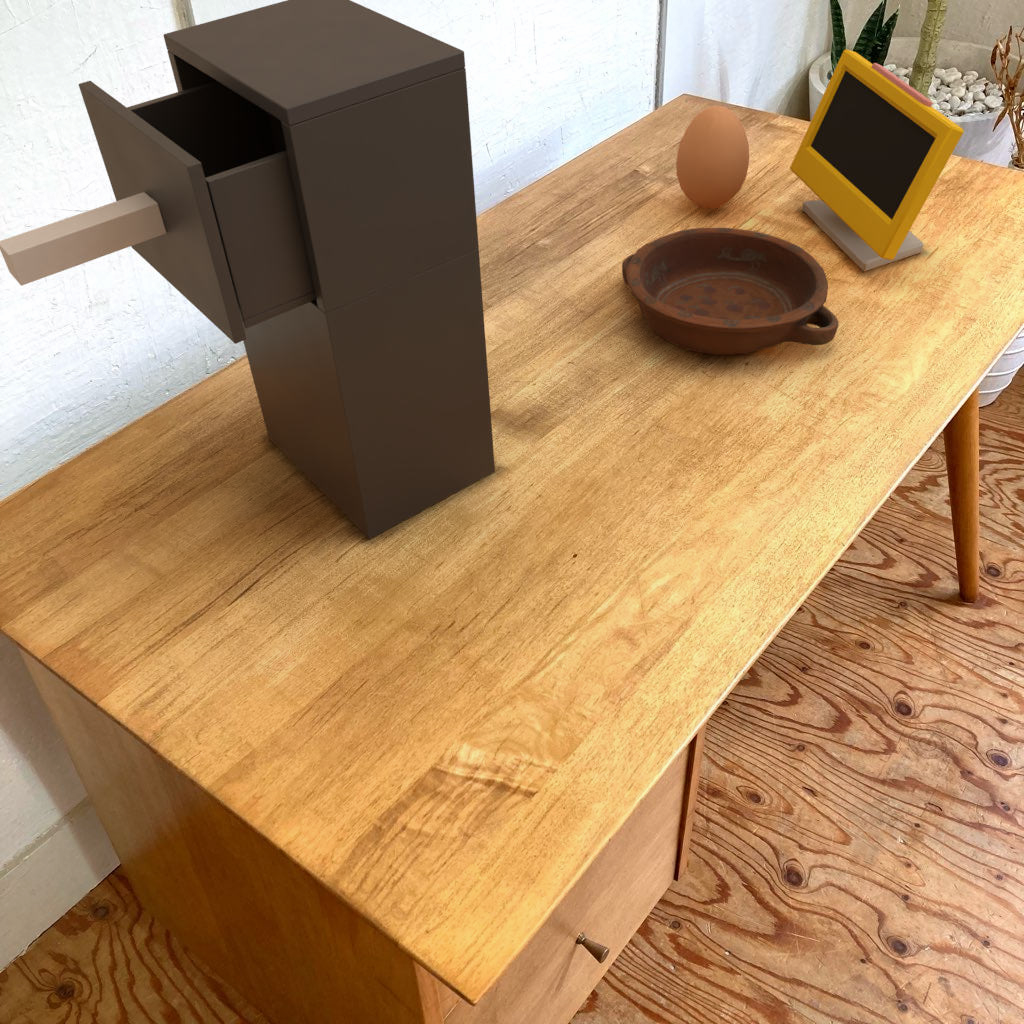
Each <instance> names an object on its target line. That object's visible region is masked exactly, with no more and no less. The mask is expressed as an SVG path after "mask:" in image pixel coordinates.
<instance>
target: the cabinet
mask: <svg viewBox="0 0 1024 1024" xmlns="http://www.w3.org/2000/svg"><path fill="white" fill-rule="evenodd" d="M163 39H164V43H165V47H166V51H167V55H168V59H169V62H170V66H171V70H172V74H173V78H174V82H175V84H176V89H177V92H180V91H183V90H186V89H190V88H193V87H196V86H199V85H203V84H206V83H209V82H213V81H216V80H217V81H218V82H220V83H221V84H223V85H225V86H226V87H228V88H229V89H231V90H233V91H234V92H236V93H237V94H239V95H241V96H242V97H244V98H245V99H247V100H249V101H250V102H252V103H253V104H255V105H257V106H258V107H260V108H261V109H263V110H265V111H266V112H268V113H270V114H271V115H273V116H274V117H276V118H278V119H279V120H281V121H282V122H281V124H282V129H283V134H284V139H285V144H286V149H287V154H288V159H289V164H290V169H291V174H292V179H293V184H294V189H295V194H296V199H297V204H298V209H299V214H300V219H301V224H302V229H303V234H304V239H305V244H306V250H307V255H308V260H309V265H310V270H311V275H312V280H313V285H314V290H315V295H316V300H313V301H311V302H309V303H306V304H304V305H301V306H299V307H297V308H294V309H292V310H289V311H287V312H285V313H282V314H280V315H278V316H275V317H273V318H270V319H268V320H266V321H263V322H261V323H258V324H256V325H254V326H251V327H249V328H244V331H245V334H246V338H247V339H246V340H243V341H242V342H243V346H244V350H245V353H246V357H247V360H248V361H247V362H248V364H249V368H250V372H251V376H252V380H253V384H254V387H255V391H256V395H257V399H258V403H259V407H260V412H261V414H262V417H263V422H264V427H265V429H266V434H267V437H268V440H270V441H271V442H272V443H273V444H274V445H275V446H276V448H278V449H279V450H280V451H281V452H282V453H283V454H284V455H285V456H286V457H287V458H288V459H289V461H291V462H292V464H294V465H295V467H297V468H298V470H299V471H301V473H302V474H304V476H305V477H306V478H307V479H308V480H309V481H310V482H312V484H314V485H315V487H316V488H318V490H320V492H322V494H323V495H324V496H325V497H326V498H327V499H328V500H330V502H331V503H333V505H334V506H336V508H337V509H338V510H339V511H340V512H341V513H342V514H343V515H344V516H345V517H346V518H347V519H348V520H349V521H350V522H351V523H352V524H353V525H354V526H355V527H356V528H357V529H358V530H359V531H360V532H361V533H362V534H363V535H364V536H365V537H366V538H367V539H368V540H372V539H373V538H375V537H377V536H379V535H380V534H383V533H384V532H386V531H388V530H390V529H392V528H394V527H396V526H397V525H399V524H401V523H402V522H404V521H406V520H408V519H410V518H412V517H415V515H417V514H419V513H421V512H423V511H425V510H427V509H429V508H431V507H433V506H434V505H435V504H438V503H439V502H442V501H443V500H445V499H447V498H448V497H449V498H450V497H451V496H453V495H454V494H457V493H458V492H460V491H461V490H464V489H465V488H467V487H469V486H471V485H473V484H475V483H476V482H478V481H480V480H482V479H484V478H485V477H488V476H489V475H491V474H493V473H495V472H496V466H495V465H496V464H495V454H494V453H495V452H494V437H493V426H492V411H491V398H490V396H491V395H490V385H489V384H490V383H489V371H488V357H487V346H486V345H487V342H486V341H487V340H486V329H485V316H484V302H483V301H484V300H483V288H482V273H481V260H480V259H481V258H480V249H479V248H480V247H479V246H480V245H479V232H478V219H477V207H476V191H475V178H474V177H475V176H474V166H473V165H474V163H473V153H472V152H473V150H472V139H471V138H472V137H471V122H470V110H469V96H468V83H467V82H468V81H467V71H466V69H467V68H466V59H465V58H466V56H465V51H464V50H462V49H460V48H458V47H456V46H453V45H451V44H449V43H447V42H445V41H442V40H440V39H438V38H436V37H433V36H432V35H429V34H427V33H425V32H422V31H420V30H417V29H415V28H413V27H411V26H409V25H406V24H404V23H402V22H400V21H398V20H395V19H393V18H391V17H389V16H386V15H384V14H382V13H380V12H378V11H375V10H373V9H370V8H368V7H366V6H364V5H362V4H359V3H357V2H355V1H353V0H284V1H279V2H276V3H272V4H268V5H265V6H261V7H258V8H254V9H250V10H247V11H243V12H239V13H236V14H231V15H228V16H224V17H221V18H218V19H214V20H211V21H207V22H203V23H200V24H199V23H198V24H196V25H192V26H189V27H185V28H181V29H178V30H174V31H170V32H166V33H164V34H163Z"/></svg>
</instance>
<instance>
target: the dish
mask: <svg viewBox="0 0 1024 1024" xmlns="http://www.w3.org/2000/svg"><path fill="white" fill-rule="evenodd" d="M621 274H622V279H623V282H624V284H625V285H626V286H628V289H629V291H630V293H631V294H632V296H633V297H634V298H635V299H636V300H637V303H638V306H639V308H640V311H641V313H642V316H643V317H644V319H645V320H646V322H647V324H648V325H649V326H650V328H651V329H652V330H653V331H654V332H655V333H656V334H657V335H659V336H660V337H661V338H663V339H664V340H666V341H668V342H670V343H672V344H674V345H675V346H677V347H680V348H683V349H686V350H690V351H693V352H698V353H703V354H708V355H722V356H723V355H725V356H726V355H735V354H736V355H737V354H745V353H746V354H748V353H754V352H758V351H762V350H766V349H769V348H772V347H774V346H778V345H781V344H783V343H795V344H796V343H797V344H803V345H809V346H823V345H827V344H829V343H831V342H832V341H833V340H834V339H835V336H836V334H837V331H838V329H839V320H838V318H837V315H836V314H834V313H833V312H832V311H831V310H830V309H829V308H827V307H826V306H825V305H824V304H825V303H827V298H828V292H829V291H828V290H829V284H828V283H829V282H828V278H827V275H826V273H825V270H824V268H823V267H822V265H820V263H819V262H818V261H817V260H816V258H814V257H813V256H812V255H811V253H809V252H808V251H806V250H805V249H803V248H802V247H800V246H799V245H797V244H794V243H792V242H791V241H787V240H785V239H783V238H780V237H777V236H774V235H770V234H767V233H763V232H759V231H755V230H748V229H742V228H736V227H735V228H734V227H696V228H689V229H682V230H679V231H675V232H672V233H669V234H667V235H663V236H661V237H658V238H657V239H654V240H652V241H650V242H648V243H645V244H644V245H642V246H641V247H640V248H638V249H637V250H636V252H634V253H632V254H630V255H628V256H627V257H626V258H625V259H624V260H623V261H622V264H621ZM810 325H813V326H810ZM814 326H816V327H814Z"/></svg>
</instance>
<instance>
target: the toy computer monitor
mask: <svg viewBox="0 0 1024 1024" xmlns="http://www.w3.org/2000/svg"><path fill="white" fill-rule="evenodd" d="M933 104H934V102H933V101H932V100H930V99H929V97H926V96H925V95H923V94H922V93H921V92H919V91H918V90H916V89H915V88H914V87H912V86H911V85H910V84H908V83H907V82H905V81H904V80H903V79H901V78H900V77H899V76H896V75H895V74H894V73H892V72H891V71H890V70H889V69H887V68H886V67H884V66H883V65H881V64H879V63H876V62H873V63H872V62H871V61H869V60H868V59H866V58H864V56H862V55H860V53H858V52H856V51H853V50H850V49H847V48H846V49H844V50H843V51H842V53H841V56H840V58H839V60H838V62H837V64H836V67H835V69H834V71H833V73H832V75H831V78H830V80H829V81H828V83H827V86H826V88H825V90H824V93H823V94H822V97H821V99H820V101H819V104H818V106H817V108H816V110H815V112H814V114H813V116H812V118H811V121H810V123H809V125H808V127H807V130H806V132H805V135H804V136H803V138H802V141H801V143H800V145H799V147H798V149H797V151H796V153H795V156H794V158H793V160H792V162H791V164H790V166H789V169H790V171H791V172H792V173H793V174H794V175H795V176H797V178H798V179H799V180H800V181H802V183H803V184H805V186H806V187H807V188H808V189H810V191H811V192H812V193H814V194H815V195H816V196H817V197H818V198H819V200H817V199H815V200H805V201H803V202H802V208H801V210H802V211H803V212H804V213H805V214H806V215H807V216H808V217H809V218H810V219H811V220H812V221H813V222H814V223H815V224H816V226H818V227H819V229H821V231H823V232H824V233H825V234H826V235H827V236H828V237H829V238H830V239H831V240H832V241H833V243H835V245H837V246H838V247H839V248H840V249H841V250H842V251H843V253H845V255H846V256H847V257H849V259H850V260H851V261H853V263H854V264H855V265H856V266H857V267H859V269H860V270H861V271H862V272H867V271H870V270H873V269H876V268H879V267H882V266H885V265H888V264H890V263H894V262H897V261H900V260H903V259H906V258H908V257H912V256H915V255H918V254H921V253H922V252H923V249H924V242H923V241H922V240H920V238H918V237H917V236H916V235H915V234H914V233H913V232H911V229H912V227H913V225H914V223H915V222H916V220H917V218H918V216H919V214H920V212H921V210H922V209H923V207H924V205H925V203H926V202H927V200H928V198H929V196H930V194H931V193H932V190H933V189H934V187H935V185H936V183H937V182H938V179H939V178H940V176H941V175H942V172H943V171H944V169H945V167H946V165H947V163H948V162H949V159H950V158H951V156H952V154H953V153H954V150H955V149H956V148H957V145H958V144H959V141H960V140H961V138H962V137H963V134H964V129H963V128H962V127H961V126H960V125H958V124H957V123H955V122H954V121H952V120H951V119H950V118H948V117H947V116H945V115H944V114H943V113H941V112H940V111H938V110H937V109H935V108H934V107H933Z"/></svg>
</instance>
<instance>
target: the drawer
mask: <svg viewBox="0 0 1024 1024" xmlns="http://www.w3.org/2000/svg"><path fill="white" fill-rule="evenodd" d="M78 88H79V91H80V93H81V97H82V100H83V103H84V106H85V109H86V113H87V115H88V118H89V122H90V124H91V127H92V131H93V134H94V137H95V140H96V143H97V146H98V149H99V152H100V156H101V159H102V162H103V164H104V167H105V170H106V173H107V176H108V180H109V183H110V186H111V190H112V192H113V195H114V198H115V201H114V202H113V201H112V202H111V203H110V202H109V203H107V204H105V205H102V206H98V207H96V208H93V209H89V210H86V211H84V212H82V213H81V212H80V213H78V214H75V215H73V216H69V217H67V218H64V219H61V220H58V221H55V222H52V223H49V224H46V225H42V226H40V227H37V228H34V229H31V230H28V231H25V232H22V233H19V234H17V235H14V236H11V237H8V238H4V239H2V240H0V254H1V255H2V257H3V260H4V262H5V265H6V268H7V270H8V272H9V274H10V275H11V276H12V277H13V278H14V280H15V281H16V282H17V283H18V284H19V285H20V286H26V285H27V284H30V283H33V282H35V281H36V282H37V281H38V280H42V279H44V278H47V277H50V276H52V275H55V274H57V273H61V272H63V271H67V270H69V269H71V268H74V267H77V266H80V265H83V264H86V263H88V262H92V261H94V260H97V259H100V258H102V257H105V256H107V255H110V254H114V253H116V252H119V251H122V250H124V249H127V248H132V249H133V250H134V251H135V252H136V253H137V254H138V255H139V256H140V257H141V258H142V259H143V260H144V261H146V262H147V263H148V264H149V265H150V266H151V267H152V268H153V269H154V270H155V271H156V272H157V273H159V275H160V276H162V278H164V279H165V281H167V282H168V283H169V284H170V285H171V286H172V287H173V288H174V289H176V290H177V291H178V292H179V293H180V294H181V295H182V296H183V297H184V299H186V300H188V301H189V302H190V303H191V304H192V306H194V307H195V308H196V309H197V310H198V311H199V312H200V313H201V314H203V315H204V316H205V317H206V318H207V319H208V320H209V321H210V322H211V323H212V324H213V325H214V326H215V327H216V328H218V330H220V331H221V332H222V333H223V334H224V335H225V336H226V337H227V338H228V339H229V340H230V341H231V342H233V344H234V345H236V344H238V343H241V342H243V340H246V339H247V338H246V334H245V331H244V328H249V327H251V326H254V325H256V324H258V323H261V322H263V321H266V320H268V319H270V318H273V317H275V316H278V315H280V314H282V313H285V312H287V311H289V310H292V309H294V308H297V307H299V306H301V305H304V304H306V303H309V302H311V301H313V300H316V295H315V290H314V285H313V280H312V275H311V270H310V265H309V260H308V255H307V250H306V244H305V239H304V234H303V229H302V224H301V219H300V214H299V209H298V204H297V199H296V194H295V189H294V184H293V179H292V174H291V169H290V164H289V159H288V154H287V149H286V144H285V139H284V134H283V129H282V124H281V122H282V121H281V120H279V119H278V118H276V117H274V116H273V115H271V114H270V113H268V112H266V111H265V110H263V109H261V108H260V107H258V106H257V105H255V104H253V103H252V102H250V101H249V100H247V99H245V98H244V97H242V96H241V95H239V94H237V93H236V92H234V91H233V90H231V89H229V88H228V87H226V86H225V85H223V84H221V83H220V82H218V81H217V80H216V81H213V82H209V83H206V84H203V85H199V86H196V87H193V88H190V89H186V90H183V91H180V92H178V91H176V92H173V93H170V94H167V95H164V96H160V97H156V98H153V99H150V100H147V101H143V102H139V103H137V104H134V105H130V106H125V105H124V104H123V103H121V102H120V101H119V100H117V99H116V98H114V97H113V96H112V95H111V94H109V93H107V92H106V91H105V90H104V89H103V88H101V87H100V86H98V85H97V84H96V83H95V82H94V81H92V80H87V81H84V82H81V83H78Z"/></svg>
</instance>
